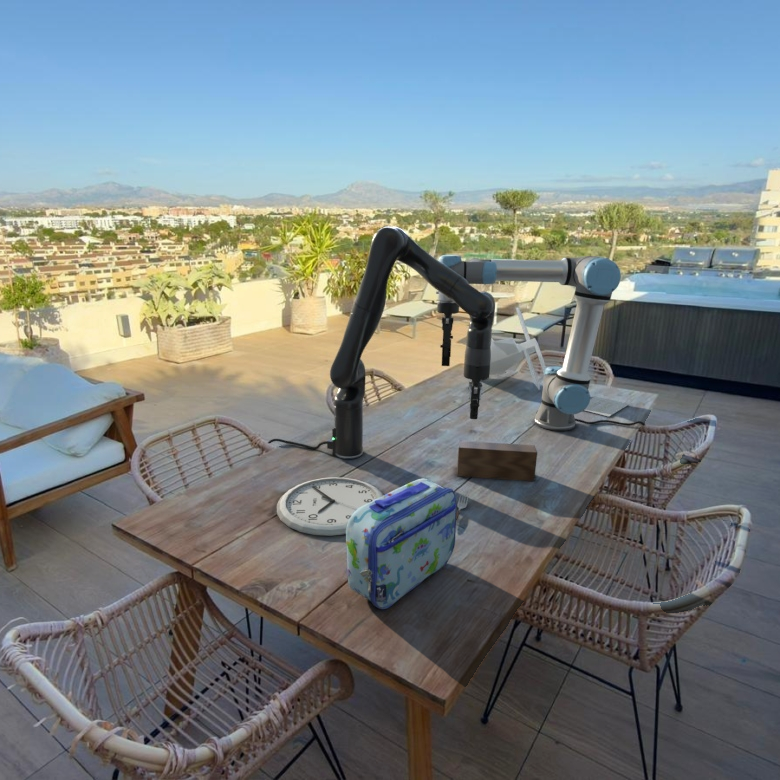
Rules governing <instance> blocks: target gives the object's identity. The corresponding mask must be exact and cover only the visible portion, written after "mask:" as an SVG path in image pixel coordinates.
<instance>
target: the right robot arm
mask: <svg viewBox="0 0 780 780" xmlns="http://www.w3.org/2000/svg"><path fill="white" fill-rule="evenodd" d="M438 261H440V262H441V263H443V264H444V265H446V266H447V267H449V268H450V269H452V270H453V271H455V272H456V273H458V274H459V275H461V277H463V278H465V279H466V280H467V281H468V283H469V285H486V286H487V285H493V284H495V283H496V282H527V283H528V282H530V283H559V284H560V285H561V286H571V287H575V291H574V297H575V299H576V301H577V303H576V307H575V311H574V314H573V320H572V323H571V328H570V333H569V338H568V342H567V345H566V350H565V355H564V359H563V363H562V366H546V369H545V373H543V381H542V382H543V384H542V394H541V402H540V405H539V407H538V410H537V411H536V413H535V416H534V424H535V425H536V426H537V427H539V428H542V429H544V430H549V431H556V432H567V431H572V430H574V429H575V428H576V422H579V423H582V424H586V425H596V424H601V423H610V424H615V425H619V426H629V427H630V426H634V425H638V424H640V425H642V426H646V423H644V422H643V421H640V420H638V421H634V422H621V421H615V420H609V419H600V420H594V421H587V420H582V419H579V418H575V417H576V416H575V415H577V414H580V413H581V412H583V411H584V410H585V409H586V408H587V406H588V405H589V402H590V399H591V394H590V391H589V387H590V383H591V378H592V377H591V376H590V375H589V368H590V365H591V360H592V357H593V352H594V347H595V344H596V340H597V335H598V332H599V327H600V323H601V320H602V315H603V311H604V307H605V306H606V305H607V304H608V303H609V302H611V299H612V296H613V292H614V291H616V290H617V288H618V287H619V285H620V283H621V278H622V274H621V270H620V268H619V266H618V264H617V263H616V262H614V261H613V260H612V259H609V258H608V257H604V256H595V255H587V256H586V255H585V256H578V257H563V258H562V259H561V260H551V259H550V260H549V259H548V260H547V259H546V260H544V259H543V260H541V259H538V260H537V259H494V258H493V259H492V258H491V259H488V258H487V259H486V258H484V259H483V258H471V259H469V260H468V261H466V260H465V261H464V260H462V256H461V255H458V254H443V255H440V257H439V258H438ZM435 294H436V295H437V300H438V301H437V303H436V304H437V305H436V311H437V313H439V314H443V315H444V316H442V318H441V325H442V327H441V330H442V344H439V345H440V346H439V347H440V348H441V367H450V365H451V364H450V363H451V356H452V355H451V353H452V339H454V335H452V331H453V325H454V317H452V315H454V314H458V313H459V312H460V307H459V306H458V305H457V304H456V303H455V302H454V301H453V300H451V299H449V298H448V297H446V296H445V295H444V294H442V293H441V292H439V291H438V290H436V292H435Z"/></svg>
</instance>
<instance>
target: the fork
mask: <svg viewBox="0 0 780 780" xmlns="http://www.w3.org/2000/svg"><path fill="white" fill-rule="evenodd" d="M461 496H462V497H461ZM469 496H470V494H467V495H465V496H464V494H460V495H459V498H458V501H457V503H456V508H458V510H456V521H457V520H458V519H459V517H460V513H461V510H463V509H465V508H467V506H468V502H469V501H468V500H469ZM466 497H467V498H466Z"/></svg>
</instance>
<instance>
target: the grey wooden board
mask: <svg viewBox="0 0 780 780" xmlns="http://www.w3.org/2000/svg"><path fill="white" fill-rule="evenodd" d="M628 406H629V404H627V403H623V402H618V401H614V400H609V399H605V398H601V397H596V396H593V397H592V398H590V402H589V405H588V406H587V408H586V409H585V410H583V411H584V412H587V413H593V414H596V415H600V416H604V417H608V418H609V417H611V416H613V415H614V414H616V413H617V412H619V411H621V410H623V409H624V408H626V407H628Z"/></svg>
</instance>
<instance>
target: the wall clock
mask: <svg viewBox="0 0 780 780" xmlns="http://www.w3.org/2000/svg"><path fill="white" fill-rule="evenodd" d="M384 495H385V494H384V493H383V492H382V491H381V490H380V489H379V488H377V487H376V486H374V485H372V484H371V483H369V482H365V481H362V480H359V479H355V478H349V477H338V476H337V477H335V476H333V477H332V476H331V477H322V478H317V479H312V480H307V481H305V482H302V483H299V484H297V485H295V486H293V487H292V488H290V489H288V490H287V491H286V492H285V493H284V494H283V495H281V496H280V498H279V499H278V502H277V503H276V515H277V517H278V518H279V520H280V521H281V522H282V523H283V524H285V525H286V526H287V527H288V528H290V529H293V530H295V531H297V532H299V533H303V534H308V535H312V536H327V537H328V536H329V537H331V536H332V537H333V536H342V535H346V528H347V524H348V521H349V519H350V517H351V515H352V514H353V513H354V512H355V511H356V510H357V509H358V508H360V507H362V506H364V505H366V504H368V503H370V502H372V501H374V500H376V499H378V498H380V497H382V496H384Z"/></svg>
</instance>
